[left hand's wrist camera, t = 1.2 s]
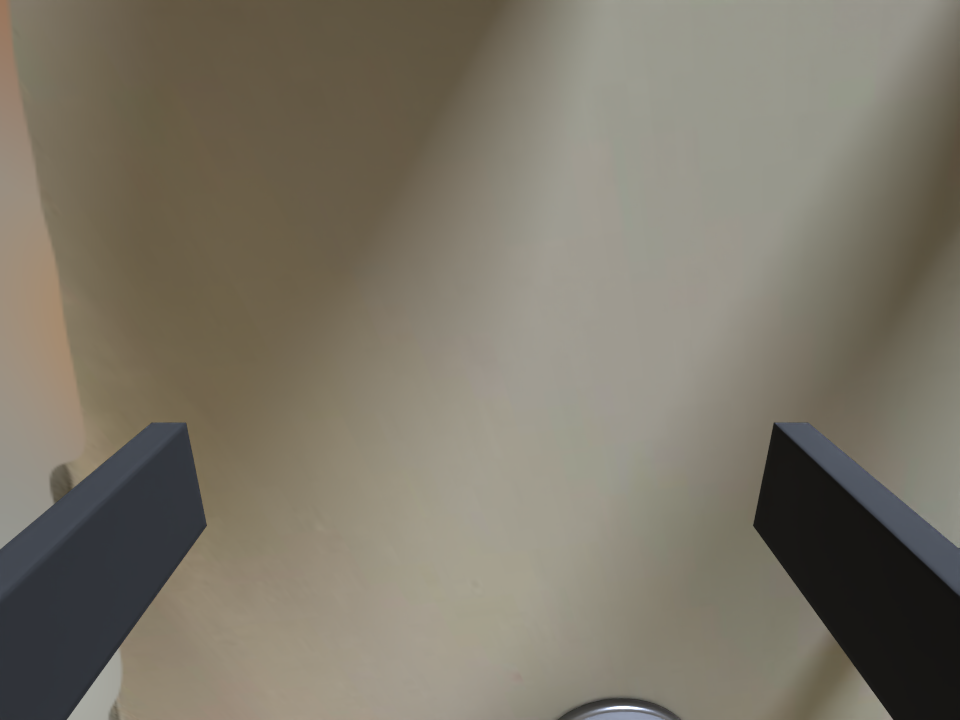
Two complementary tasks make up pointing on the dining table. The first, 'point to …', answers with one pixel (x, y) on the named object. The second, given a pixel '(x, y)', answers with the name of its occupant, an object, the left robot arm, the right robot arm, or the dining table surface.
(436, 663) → the dining table surface
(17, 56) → the dining table surface
